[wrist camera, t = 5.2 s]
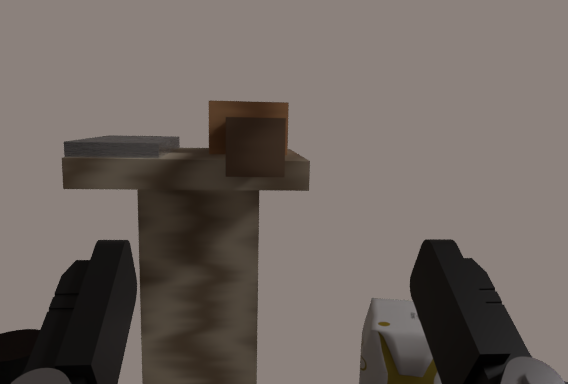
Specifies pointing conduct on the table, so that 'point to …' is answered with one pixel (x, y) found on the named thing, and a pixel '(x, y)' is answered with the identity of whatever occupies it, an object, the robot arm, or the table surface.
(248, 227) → the shelf stand
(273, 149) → the mallet
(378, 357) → the juice carton
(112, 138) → the grey base plate
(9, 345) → the deodorant
